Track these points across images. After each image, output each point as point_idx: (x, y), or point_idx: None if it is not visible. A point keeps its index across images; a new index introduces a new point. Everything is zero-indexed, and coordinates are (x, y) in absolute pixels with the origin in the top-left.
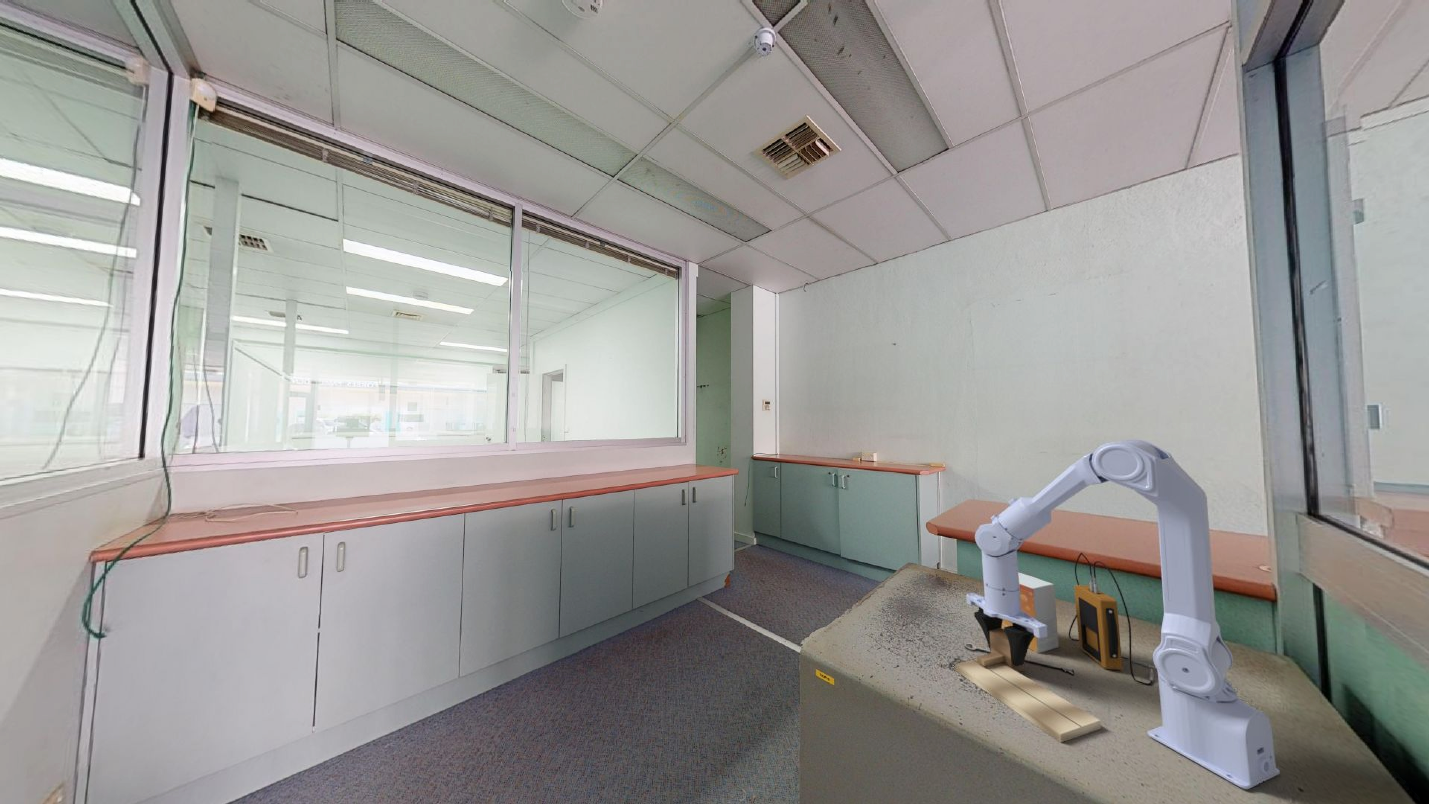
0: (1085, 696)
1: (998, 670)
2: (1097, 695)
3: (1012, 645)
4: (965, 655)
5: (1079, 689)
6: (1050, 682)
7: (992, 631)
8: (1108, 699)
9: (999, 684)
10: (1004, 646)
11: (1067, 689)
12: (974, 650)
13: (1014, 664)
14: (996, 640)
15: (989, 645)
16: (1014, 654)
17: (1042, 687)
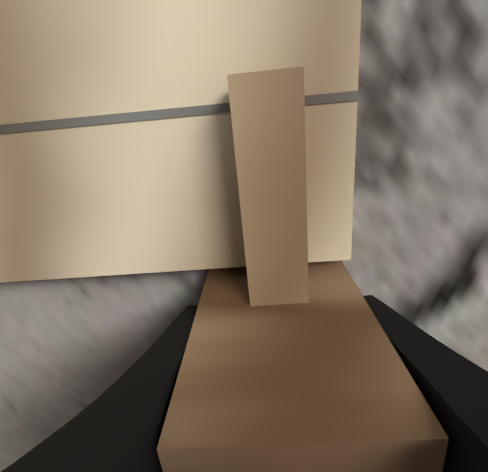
0: (22, 402)
1: (189, 170)
2: (29, 439)
3: (112, 411)
4: (460, 152)
5: (66, 419)
6: (120, 366)
7: (408, 451)
8: (6, 449)
9: (28, 15)
10: (234, 362)
11: (68, 383)
12: (468, 256)
13: (192, 306)
14: (322, 372)
15: (385, 313)
16: (150, 351)
17: (3, 276)
